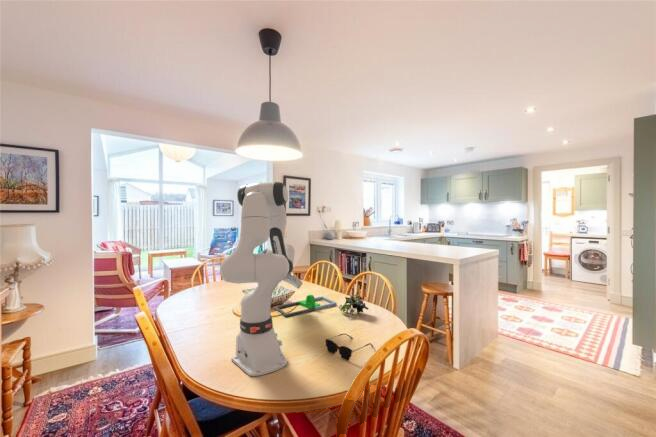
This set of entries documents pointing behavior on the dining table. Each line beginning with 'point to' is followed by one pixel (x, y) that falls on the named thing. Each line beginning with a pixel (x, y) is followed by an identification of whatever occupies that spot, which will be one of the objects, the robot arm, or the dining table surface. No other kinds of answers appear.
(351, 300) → the green leafy plant
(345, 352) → the sunglasses
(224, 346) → the dining table surface
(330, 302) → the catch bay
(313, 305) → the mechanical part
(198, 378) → the dining table surface
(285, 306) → the seat frame
